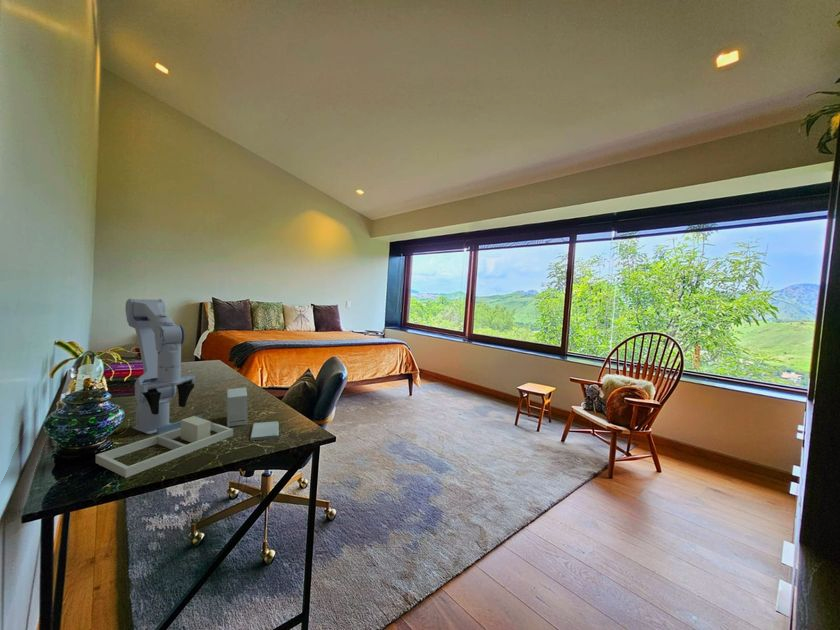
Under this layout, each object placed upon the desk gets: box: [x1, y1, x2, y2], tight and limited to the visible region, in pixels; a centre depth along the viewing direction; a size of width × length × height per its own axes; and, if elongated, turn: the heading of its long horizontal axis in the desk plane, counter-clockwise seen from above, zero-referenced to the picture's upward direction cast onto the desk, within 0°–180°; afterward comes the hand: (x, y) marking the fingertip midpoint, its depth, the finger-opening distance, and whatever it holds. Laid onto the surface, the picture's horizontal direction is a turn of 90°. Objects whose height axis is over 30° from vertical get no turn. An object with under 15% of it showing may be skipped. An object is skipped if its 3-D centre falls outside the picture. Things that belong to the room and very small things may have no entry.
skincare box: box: [226, 386, 248, 428], centre depth 123 cm, size 10×6×10 cm, turn 29°
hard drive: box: [249, 421, 280, 442], centre depth 115 cm, size 2×8×12 cm
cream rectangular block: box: [180, 415, 212, 443], centre depth 106 cm, size 8×4×6 cm, turn 66°
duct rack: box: [95, 414, 234, 478], centre depth 100 cm, size 15×29×4 cm, turn 156°
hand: (169, 410), depth 104 cm, fingers open, 7 cm apart
